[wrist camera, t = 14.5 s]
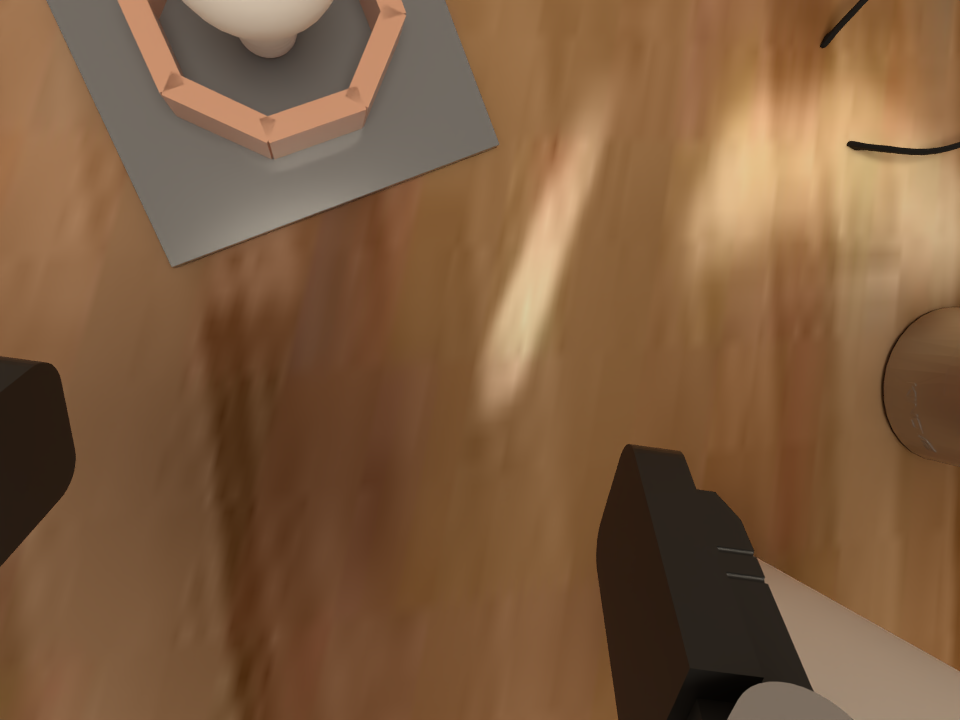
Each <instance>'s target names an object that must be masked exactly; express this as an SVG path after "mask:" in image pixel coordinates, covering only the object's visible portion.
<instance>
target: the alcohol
mask: <svg viewBox="0 0 960 720" xmlns="http://www.w3.org/2000/svg"><path fill="white" fill-rule="evenodd" d="M754 557H755V556H754ZM757 559H758V562H759V564H760V566H761V569H762V571H763V573H764V576H765V579H764V582H765V583H766V584H768V585H769V587H770V590H771V592H772V595H773V597H774V599H775V602H776V604H777V606H778V609H779V611H780V613H781V616H782V618H783V620H784V623H785V625H786V627H787V630H788V632H789V635H790V637H791V639H792V642H793V644H794V646H795V649H796V651H797V653H798V656H799V658H800V660H801V663H802V665H803V668H804V670H805V672H806V675H807V677H808V679H809V682H810V684H811V686H812V688H813V690H814V692H816V693H818V694H819V695H821V696H823V697H825V698H826V699H828V700H830V701H831V702H832V703H834V704H835V705H837V706H838V707H839V708H841V709H842V710H843V711H844V712H845V713H847V714H848V715H849V716H850V717H851V718H852V719H853V720H960V671H958V670H956V669H955V668H953V667H951V666H949V665H947V664H946V663H944V662H942V661H940V660H938V659H937V658H935V657H933V656H931V655H930V654H928V653H926V652H924V651H922V650H921V649H919V648H917V647H915V646H914V645H912V644H910V643H908V642H906V641H905V640H903V639H901V638H899V637H898V636H896V635H894V634H892V633H890V632H889V631H887V630H885V629H883V628H881V627H880V626H878V625H876V624H874V623H873V622H871V621H869V620H867V619H865V618H864V617H862V616H860V615H858V614H857V613H855V612H853V611H851V610H849V609H848V608H846V607H844V606H842V605H841V604H839V603H837V602H835V601H833V600H832V599H830V598H828V597H826V596H824V595H823V594H821V593H819V592H817V591H816V590H814V589H812V588H810V587H808V586H807V585H805V584H803V583H801V582H800V581H798V580H796V579H794V578H792V577H791V576H789V575H787V574H785V573H784V572H782V571H780V570H778V569H776V568H775V567H773V566H771V565H769V564H767V563H766V562H764V561H762V560H760V559H759V558H757Z"/></svg>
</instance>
